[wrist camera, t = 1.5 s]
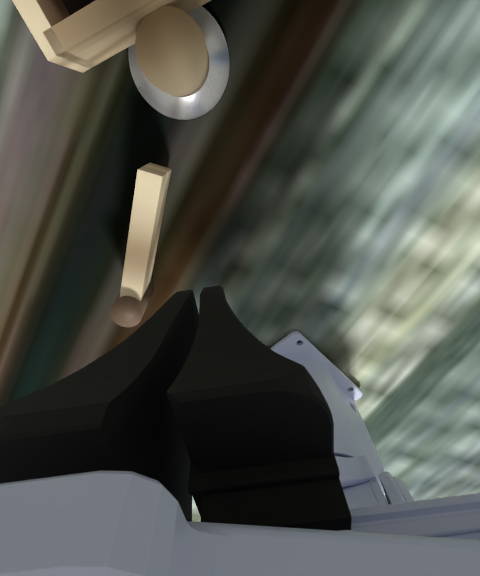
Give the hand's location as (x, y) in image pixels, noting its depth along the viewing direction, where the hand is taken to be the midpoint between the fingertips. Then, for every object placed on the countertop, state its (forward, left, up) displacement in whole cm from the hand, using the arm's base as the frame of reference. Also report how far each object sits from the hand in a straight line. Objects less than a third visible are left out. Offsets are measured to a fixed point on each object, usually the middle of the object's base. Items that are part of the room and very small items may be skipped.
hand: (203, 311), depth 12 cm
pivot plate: (+7, -5, -9) cm, 13 cm away
